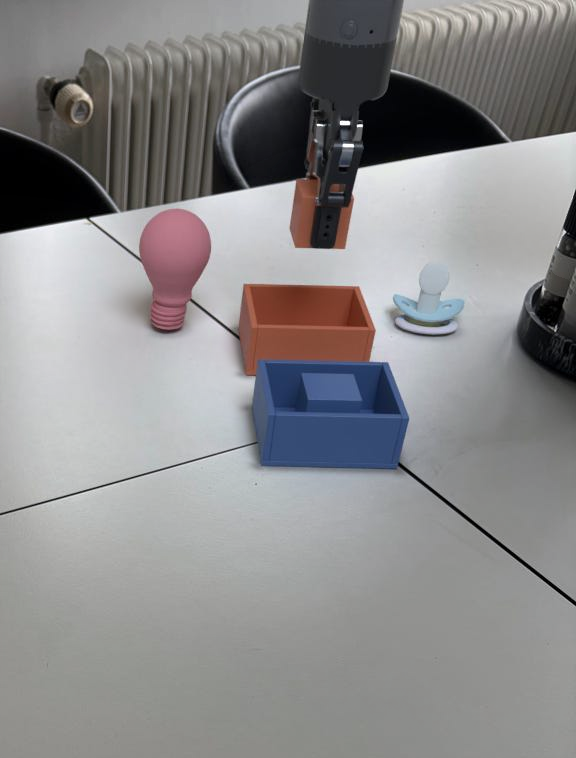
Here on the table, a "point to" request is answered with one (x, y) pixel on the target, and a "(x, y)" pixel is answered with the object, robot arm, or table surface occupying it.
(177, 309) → the light bulb
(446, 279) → the pacifier
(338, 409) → the blue block
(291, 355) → the terracotta bin
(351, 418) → the blue bin
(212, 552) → the table surface
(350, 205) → the terracotta block
